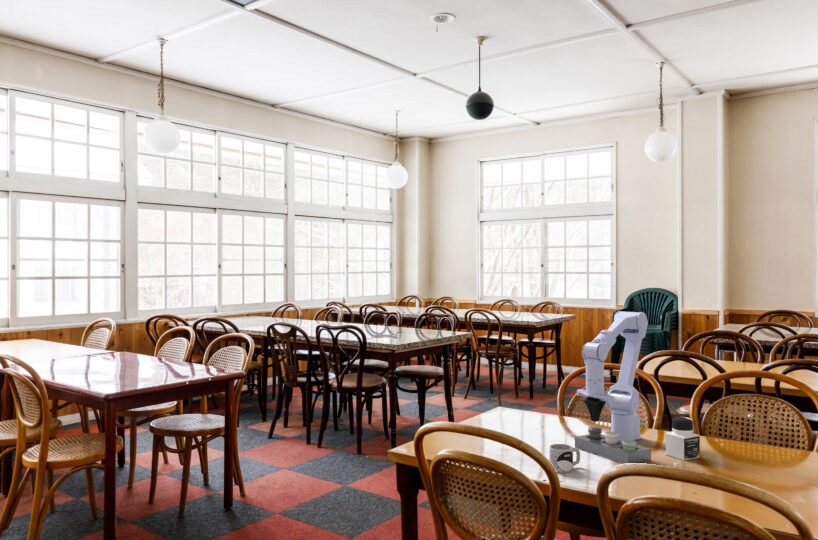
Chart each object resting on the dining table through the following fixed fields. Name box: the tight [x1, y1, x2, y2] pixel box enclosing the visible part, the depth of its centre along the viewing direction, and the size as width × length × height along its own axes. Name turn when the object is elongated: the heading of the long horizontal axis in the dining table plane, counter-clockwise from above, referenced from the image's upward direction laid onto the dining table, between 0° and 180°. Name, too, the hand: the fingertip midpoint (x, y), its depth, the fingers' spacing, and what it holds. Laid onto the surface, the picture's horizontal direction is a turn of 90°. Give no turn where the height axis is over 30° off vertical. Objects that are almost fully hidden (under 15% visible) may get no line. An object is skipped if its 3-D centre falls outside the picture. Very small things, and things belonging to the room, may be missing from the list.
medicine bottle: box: [665, 416, 701, 462], centre depth 197 cm, size 7×7×12 cm
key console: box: [574, 433, 652, 464], centre depth 200 cm, size 10×22×4 cm, turn 29°
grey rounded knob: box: [587, 426, 603, 440], centre depth 206 cm, size 4×4×4 cm
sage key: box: [622, 440, 637, 451], centre depth 194 cm, size 4×4×4 cm
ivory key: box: [604, 431, 619, 445], centre depth 200 cm, size 4×4×4 cm
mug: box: [549, 443, 581, 474], centre depth 185 cm, size 10×7×7 cm
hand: (595, 421), depth 206 cm, fingers closed
